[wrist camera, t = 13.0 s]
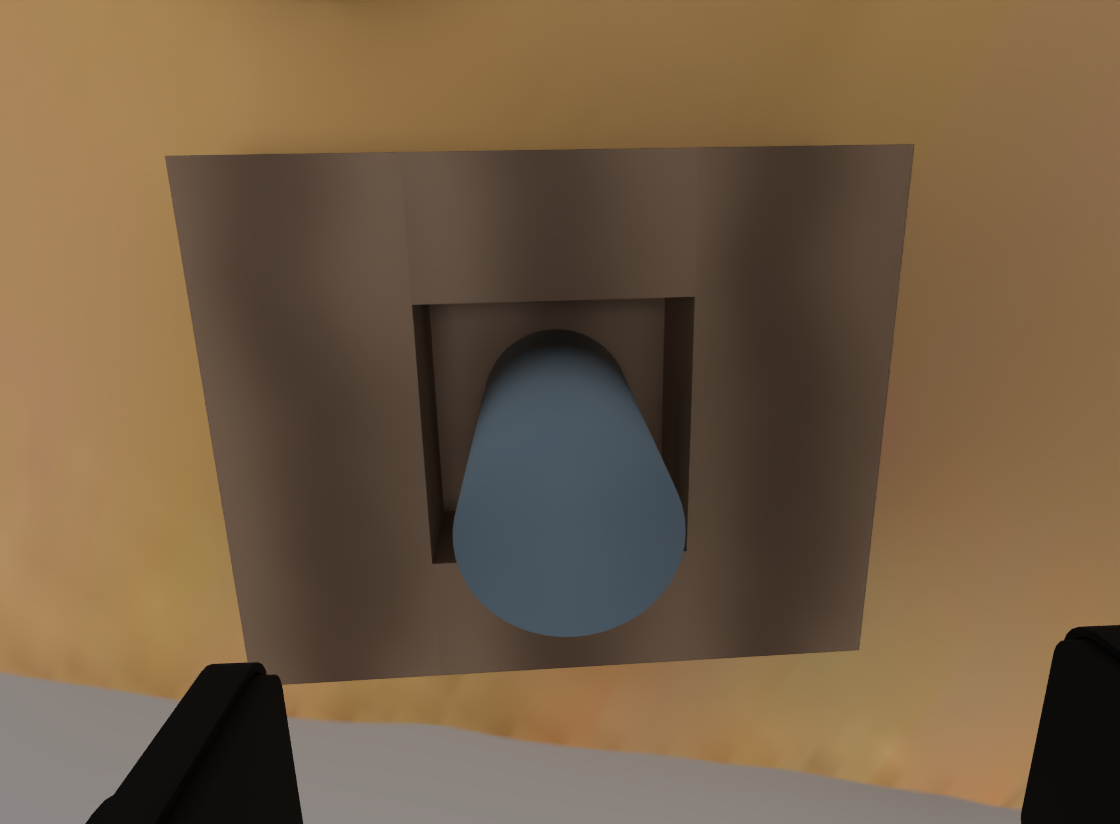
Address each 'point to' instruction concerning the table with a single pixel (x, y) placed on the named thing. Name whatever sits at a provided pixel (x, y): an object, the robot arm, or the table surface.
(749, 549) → the peg block
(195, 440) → the table surface
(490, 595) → the peg
